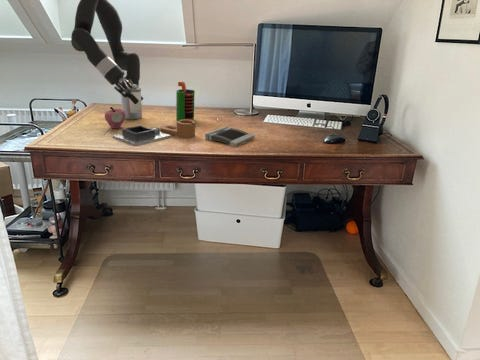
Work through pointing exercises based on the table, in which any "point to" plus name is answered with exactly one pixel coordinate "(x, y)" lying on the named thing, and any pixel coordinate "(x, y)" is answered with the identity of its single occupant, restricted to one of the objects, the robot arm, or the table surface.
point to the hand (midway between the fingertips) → (139, 101)
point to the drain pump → (137, 93)
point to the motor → (184, 103)
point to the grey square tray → (229, 136)
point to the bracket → (180, 129)
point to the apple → (115, 117)
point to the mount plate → (141, 135)
